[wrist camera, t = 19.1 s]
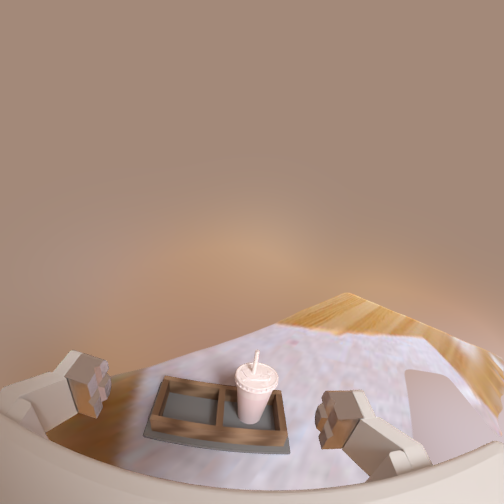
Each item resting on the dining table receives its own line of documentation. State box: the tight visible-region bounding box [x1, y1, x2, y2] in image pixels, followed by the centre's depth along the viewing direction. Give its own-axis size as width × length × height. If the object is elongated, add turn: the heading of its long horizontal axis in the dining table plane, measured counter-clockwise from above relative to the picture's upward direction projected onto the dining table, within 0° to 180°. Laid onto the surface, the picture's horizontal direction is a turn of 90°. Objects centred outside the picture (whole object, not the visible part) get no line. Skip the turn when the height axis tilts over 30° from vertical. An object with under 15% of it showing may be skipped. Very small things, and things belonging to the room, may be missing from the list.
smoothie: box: [235, 350, 278, 424], centre depth 40 cm, size 6×6×14 cm
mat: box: [143, 382, 290, 454], centre depth 41 cm, size 22×13×1 cm, turn 91°
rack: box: [150, 376, 288, 446], centre depth 40 cm, size 20×10×3 cm, turn 91°
